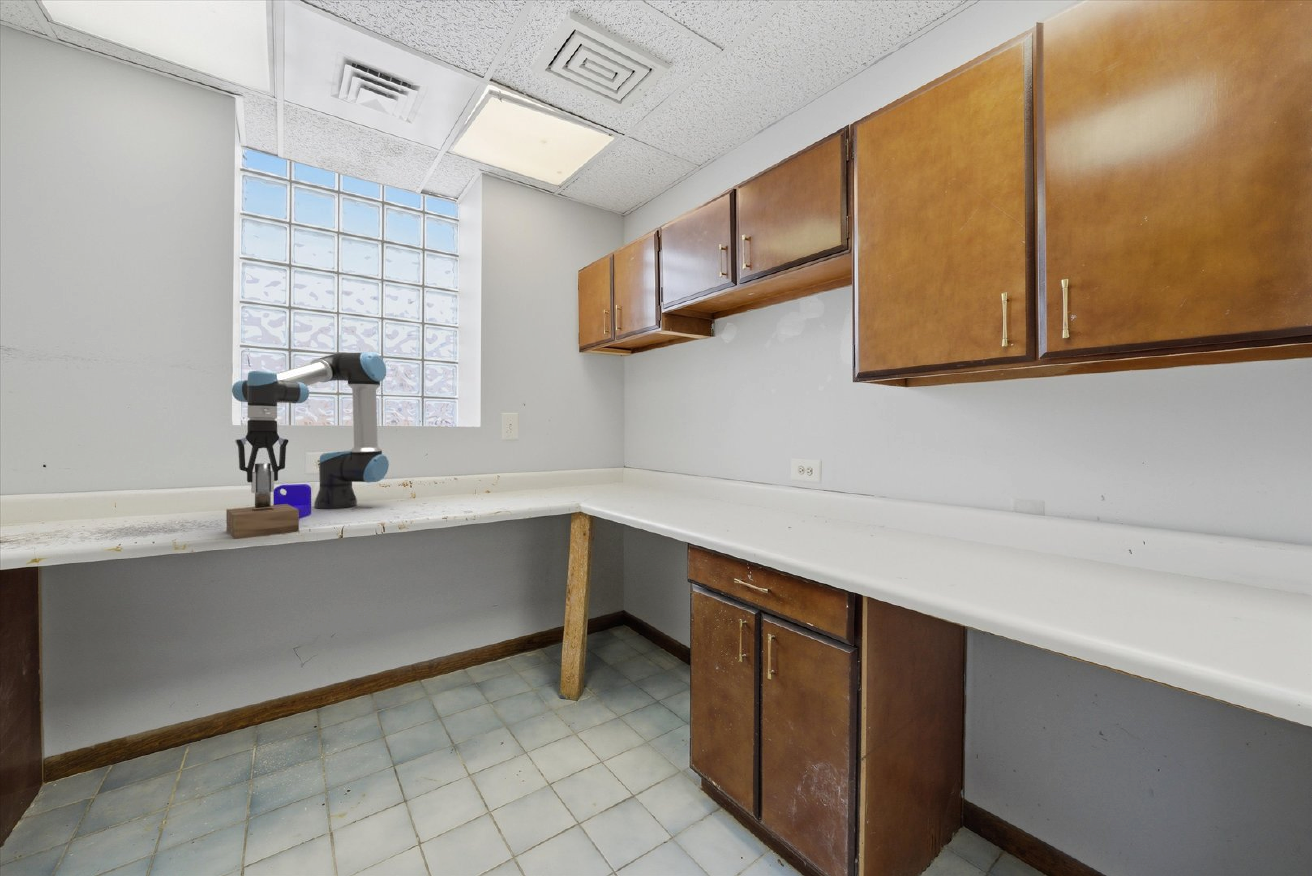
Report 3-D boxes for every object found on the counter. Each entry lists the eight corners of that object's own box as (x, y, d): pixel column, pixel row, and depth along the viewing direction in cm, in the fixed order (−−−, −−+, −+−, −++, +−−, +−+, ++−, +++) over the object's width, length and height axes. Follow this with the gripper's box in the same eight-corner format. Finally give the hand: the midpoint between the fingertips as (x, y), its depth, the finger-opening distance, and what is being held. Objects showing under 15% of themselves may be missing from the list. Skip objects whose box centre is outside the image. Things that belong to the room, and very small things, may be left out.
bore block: (226, 530, 159) (226, 509, 159) (287, 524, 171) (287, 504, 171) (234, 538, 148) (234, 515, 148) (298, 531, 160) (298, 509, 160)
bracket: (276, 515, 187) (276, 484, 186) (311, 514, 191) (311, 483, 191) (263, 524, 170) (263, 490, 170) (301, 522, 175) (301, 489, 175)
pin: (253, 506, 159) (253, 463, 159) (269, 505, 162) (269, 463, 162) (256, 508, 156) (256, 464, 156) (271, 506, 159) (271, 463, 159)
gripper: (229, 418, 150) (229, 495, 150) (297, 420, 162) (297, 490, 163) (226, 418, 155) (226, 493, 155) (292, 420, 168) (292, 488, 168)
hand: (262, 491), depth 159 cm, fingers closed on pin, 4 cm apart
